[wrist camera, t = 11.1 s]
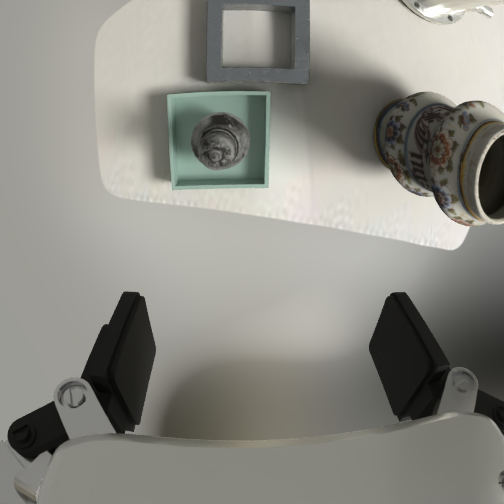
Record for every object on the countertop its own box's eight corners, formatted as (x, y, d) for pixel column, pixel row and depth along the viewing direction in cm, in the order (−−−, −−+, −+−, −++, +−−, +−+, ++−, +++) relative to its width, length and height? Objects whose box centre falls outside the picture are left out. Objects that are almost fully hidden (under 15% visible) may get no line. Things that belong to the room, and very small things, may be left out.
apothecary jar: (427, 191, 37) (515, 255, 21) (353, 167, 35) (436, 230, 19) (451, 111, 31) (553, 140, 15) (378, 75, 29) (481, 76, 14)
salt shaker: (213, 171, 34) (203, 209, 23) (185, 129, 31) (159, 146, 21) (258, 145, 33) (270, 170, 22) (231, 100, 30) (229, 102, 19)
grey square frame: (304, 2, 25) (309, -4, 23) (303, 84, 30) (308, 83, 28) (209, -1, 25) (208, -7, 22) (208, 82, 30) (206, 81, 27)
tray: (267, 92, 30) (270, 91, 28) (265, 180, 35) (268, 187, 33) (172, 94, 30) (167, 94, 27) (176, 182, 35) (172, 189, 32)
